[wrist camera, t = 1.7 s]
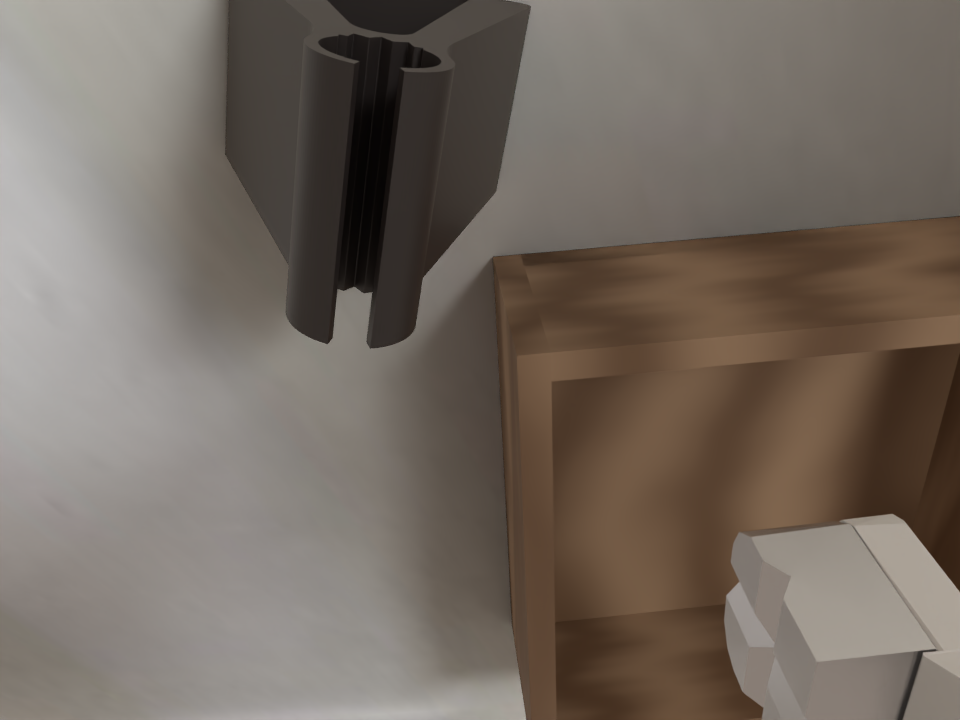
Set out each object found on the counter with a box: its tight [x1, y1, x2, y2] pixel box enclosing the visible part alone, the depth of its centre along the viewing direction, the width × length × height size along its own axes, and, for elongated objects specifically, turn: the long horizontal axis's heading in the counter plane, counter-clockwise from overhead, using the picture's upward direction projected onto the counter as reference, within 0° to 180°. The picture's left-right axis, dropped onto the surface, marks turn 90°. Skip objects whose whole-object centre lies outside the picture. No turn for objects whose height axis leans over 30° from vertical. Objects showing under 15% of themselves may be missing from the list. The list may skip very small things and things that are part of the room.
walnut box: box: [493, 216, 960, 720], centre depth 33 cm, size 19×19×7 cm
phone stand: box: [225, 0, 531, 348], centre depth 22 cm, size 9×6×12 cm, turn 80°
